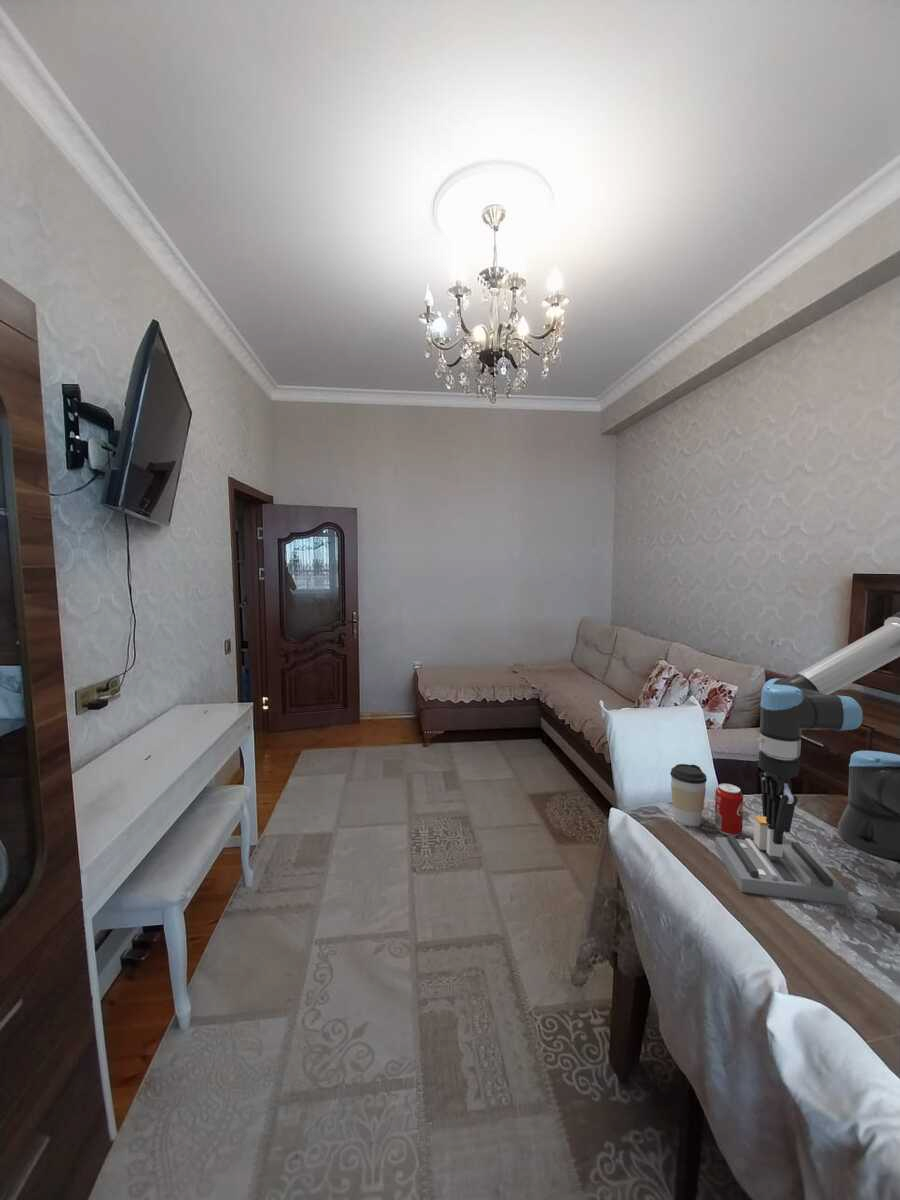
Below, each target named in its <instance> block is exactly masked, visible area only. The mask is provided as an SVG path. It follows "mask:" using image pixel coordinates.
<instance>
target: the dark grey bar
mask: <svg viewBox="0 0 900 1200" xmlns="http://www.w3.org/2000/svg"><path fill="white" fill-rule="evenodd" d="M790 845H791V847H792V848H793V850H794V851H795V853H797V854H798V855H799V857H800V858H801V859H802V860H803V861H804V862H805V863H806V865H807V866H808V867H809V868H810V869H811V870H812V871H813V873H814V874H815V875H816V876H817V877H818V879H819V881H821V882H822V883H823V884H824V885H825V886H830V887H833V880H832V879H831V878H830V877H829V875H828V874H827V873H826V872H825V871H824V870H823V869H822V868H821V867H820V866H819V864H818V863H817V862H816V861H815V860H814V859H813V858H812V857H811V856H810V855H809V854H808V852H807V851H806V850H805V849H804V848H803V847H802V846H803V845H801V844H800V843H799V841H791V844H790Z"/></svg>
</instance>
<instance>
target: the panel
mask: <svg viewBox="0 0 900 1200" xmlns="http://www.w3.org/2000/svg"><path fill="white" fill-rule="evenodd" d="M714 840H715V841H714V843H715V845H714V848H715V851H716V852H717V853H718V856H719V857H720V859H721V860H722V863H723V864H724V866H725V868H726V869H727V871H728V872H729V874H730V876H731V878H732V879H733V881H734V883H735V884H736V886H737V888H738V890H739V891H740V892H741V893H746V894H747V893H748V894H755V895H763V896H772V897H778V898H785V899H786V898H787V899H794V900H803V901H811V902H818V903H827V904H835V905H842V906H848V905H849V891H848V889H847V888H846V887H845V886H844V885H843V884H842V883H841V882H840V881H839V880H838V879H837V877H836V876H835V875H833V872H831V871H830V870H829V868H827V867H826V866H825V865H824V864H823V863H822V861H820V859H819V858H818V857H817V856H816V855H815V853H813V851H811V849H809V847H808V846H805V845H801V846H802V847H803V848H804V849H805V850H806V851H807V852H808V854H809V855H810V856H811V857H812V858H813V859H814V860H815V861H816V862H817V863H818V864H819V866H820V867H821V868H822V869H823V870H824V871H825V872H826V873H827V874H828V875H829V877H830V878H831V879H832V880H833V887H830V886H825V885H824V884H823V883H822V882H821V881H819V879H818V877H817V876H816V875H815V874H814V873H813V871H812V870H811V869H810V868H809V867H808V866H807V865H806V863H805V862H804V861H803V860H802V859H801V858H800V857H799V855H798V854H797V853H795V851H794V850H793V848H792V847H791V844H789V843H787V844H785V843H783V857H777V856H769V855H768V853H767V852H766V850H760V849H759V848H758V847H757V846H756V844H755V843H754V840H751V838H747V837H745V839H737V838H736V840H737V841H738V842H739V844H740V845H741V847H742V848H743V850H744V851H745V853H746V854H747V855H748V857H749V858H750V860H751V861H752V863H753V864H754V866H755V867H756V868H757V870H758V871H759V878H756V877H751V876H750V874H749V873H747V870H746V868H745V867H744V865H743V864H742V862H741V861H740V859H739V857H738V856H737V854H736V853H735V851H734V850H733V848H732V847H731V845H730V844H728V843H729V842H728V841H727V837H720V836H715V839H714Z"/></svg>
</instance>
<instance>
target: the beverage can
mask: <svg viewBox="0 0 900 1200" xmlns="http://www.w3.org/2000/svg"><path fill="white" fill-rule="evenodd" d="M714 795H715V799H714V800H715V806H714V827H715V828H716V829H717V830H718V832H719V833H721V834H723V835H725V836H727V835H734V837H737V836H739V835H740V834H742V832H743V814H744V813H743V812H744V794H743V793H742V791H741V788H740V787H738V786H736V785H734V784H731V783H720V784H718V787H717V788H716V789H715V794H714Z"/></svg>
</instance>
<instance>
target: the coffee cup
mask: <svg viewBox="0 0 900 1200" xmlns="http://www.w3.org/2000/svg"><path fill="white" fill-rule="evenodd" d="M669 773H670V776H671V782H670V786H671V802H672V808H673V810H672V812H673V819H674V821H676V822H677V821H678V822H677V823H679V824H680V823H682V824H681V825H683V824H684V825H683V826H686V825H689V826H688V827H691V826H696V827H699V826H701V825H702V818H703V810H704V808H705V807H704V806H705V799H706V790H707V789H706V785H707V781H708V779H707V775H706V774H705V773H704V772H703V769H701V767H700V766H699V765H697V764H687V763H681V764H678V763H677V764H676V765H675V766H674V767H672V768H671V769H670V772H669ZM700 824H701V825H700Z"/></svg>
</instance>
